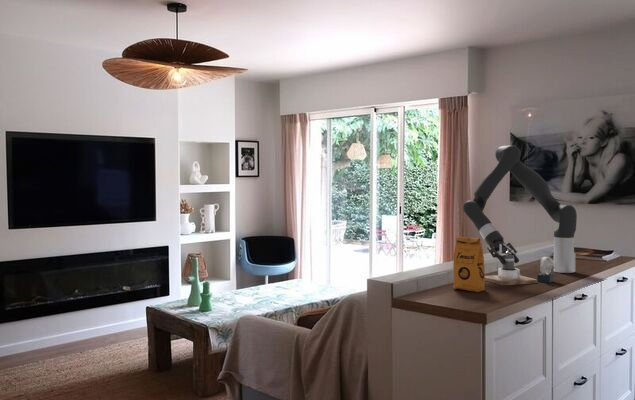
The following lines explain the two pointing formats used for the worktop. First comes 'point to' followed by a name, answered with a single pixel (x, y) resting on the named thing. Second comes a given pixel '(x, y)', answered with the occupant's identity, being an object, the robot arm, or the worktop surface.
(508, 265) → the grey cylinder
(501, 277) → the notched white ring
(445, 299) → the worktop surface
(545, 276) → the watch
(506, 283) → the mount board
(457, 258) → the coffee package
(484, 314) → the worktop surface
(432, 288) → the worktop surface
